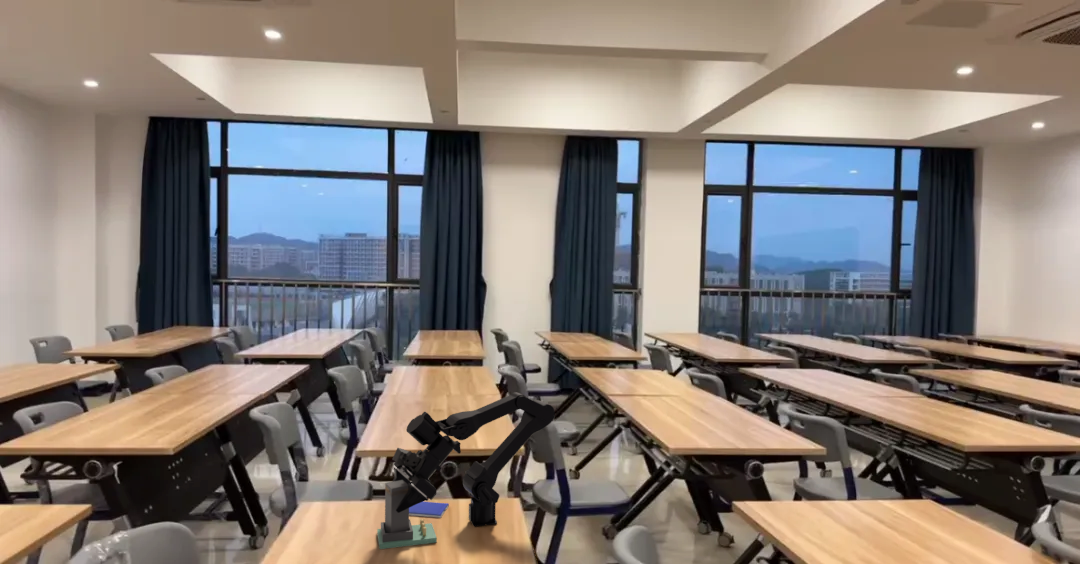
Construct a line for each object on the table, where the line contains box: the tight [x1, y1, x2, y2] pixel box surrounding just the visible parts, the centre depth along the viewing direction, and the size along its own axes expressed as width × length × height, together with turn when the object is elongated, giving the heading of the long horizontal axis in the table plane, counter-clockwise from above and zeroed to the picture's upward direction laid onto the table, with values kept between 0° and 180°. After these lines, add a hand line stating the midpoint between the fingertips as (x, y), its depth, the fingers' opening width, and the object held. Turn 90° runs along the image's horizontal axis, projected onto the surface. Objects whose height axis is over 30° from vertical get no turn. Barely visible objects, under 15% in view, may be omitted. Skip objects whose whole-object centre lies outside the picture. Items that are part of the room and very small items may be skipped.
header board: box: [376, 518, 438, 550], centre depth 163 cm, size 14×9×3 cm, turn 108°
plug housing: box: [384, 480, 410, 533], centre depth 162 cm, size 5×5×13 cm
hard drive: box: [409, 501, 450, 519], centre depth 180 cm, size 2×8×12 cm
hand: (391, 505), depth 161 cm, fingers open, 9 cm apart
